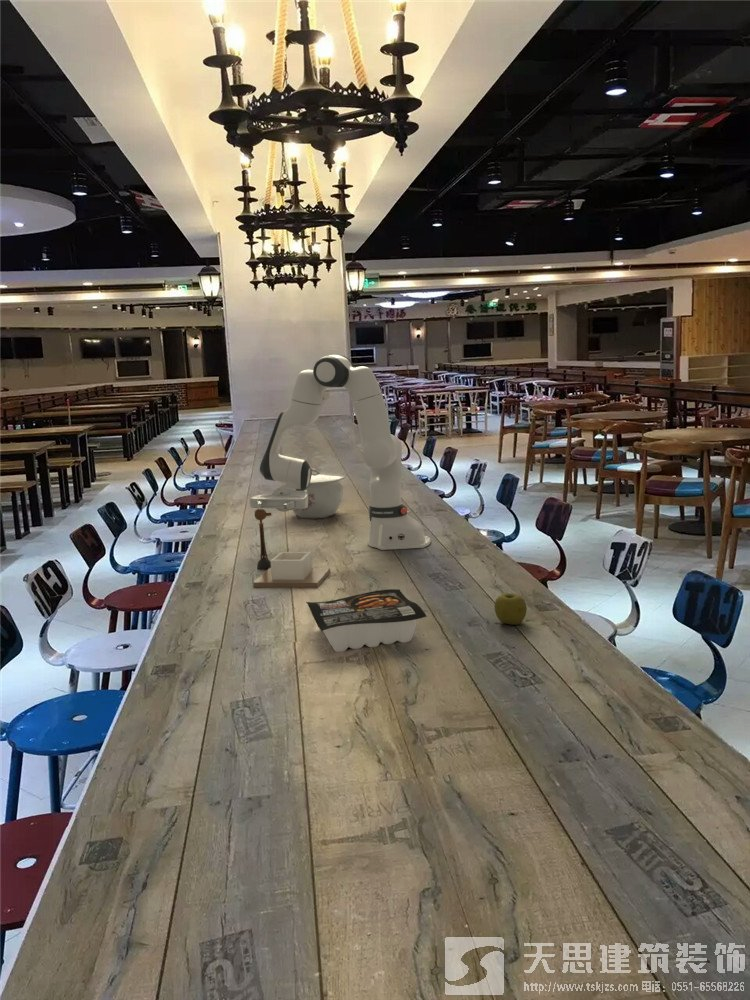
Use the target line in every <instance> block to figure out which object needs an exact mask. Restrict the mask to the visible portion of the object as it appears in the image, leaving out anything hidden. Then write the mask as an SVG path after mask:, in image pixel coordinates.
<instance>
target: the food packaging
mask: <svg viewBox="0 0 750 1000" xmlns="http://www.w3.org/2000/svg"><path fill="white" fill-rule="evenodd" d="M305 603H306V604H307V606H308V608H309V611H310V613H311V615H312V617H313V619H314V622H315V623H316V626H317V627H318V629H319V630H320V631H321V632H323V634H324V635H325V637H326V639H327V640H328V642H329V644H330V645H331V647H332V649H333V650H334V651H335V653H340V652H346V650H347V649H348V648H350V649H352V650H357V649H362V647H364V645H365V646H366V647H368V648H376V647H378V646H379V645H380V643H382V644H384V645H391V644H394V643H395V642H399V643H409V642H411V640H412V638H413V636H414V633H415V632H416V628H417V621H418V620H420V619H423V618H427V615H426V613H425V612H424V610H423V609H422V608H421V606H420V605H418V603H416V602H415V601H412V600H409V599H408V598H407V597H406V596H405V595H404V593H403V592H402V591H401V590H400V589H398V588H397V589H394V588H392V589H380V590H379V589H378V590H373V591H367V592H363V593H360V594H359V593H358V594H356V595H355V594H354V595H351V596H347V597H343V598H339V599H333V600H327V601H326V600H325V601H315V602H312V601H305Z"/></svg>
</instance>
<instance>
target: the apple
mask: <svg viewBox="0 0 750 1000" xmlns="http://www.w3.org/2000/svg"><path fill="white" fill-rule="evenodd" d="M527 607H528V606H527V603H526V600H525V599H524V598H523V597H522V596H520V595H519V594H518V593H517V594H516V593H503V594H501V595H499V596H497V598H496V599H495V601H494V612H495V615H496V617H497V619H498V620H499V621H500V622H501V623H503V624H507V625H512V626H517V625H520V624H521V623H522V622H523V621H524V620H525V618H526V615H527V611H528V609H527Z"/></svg>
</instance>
